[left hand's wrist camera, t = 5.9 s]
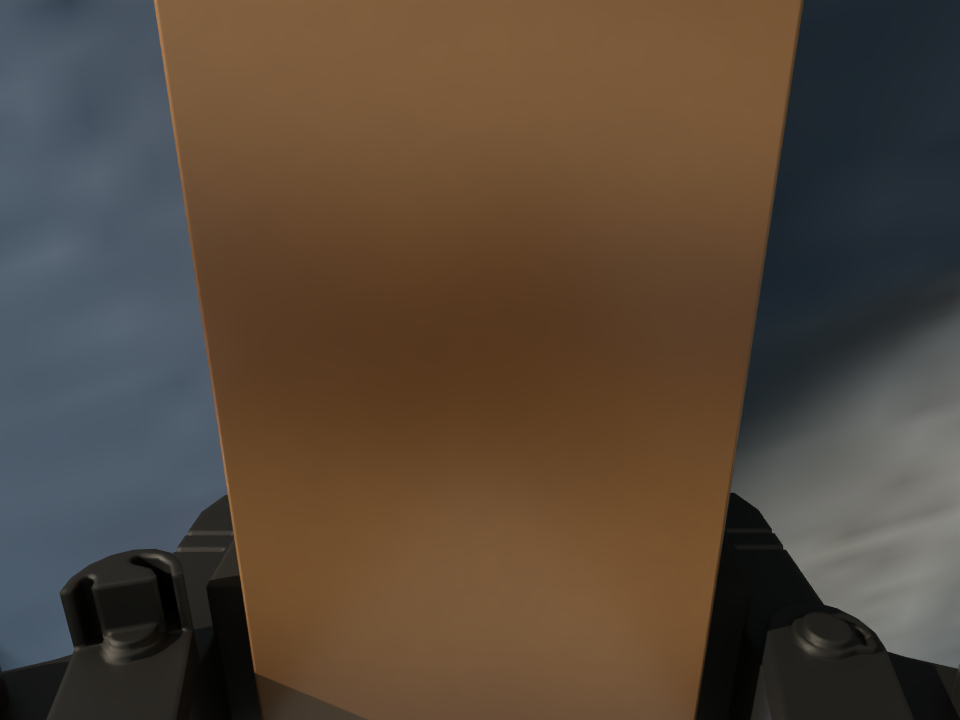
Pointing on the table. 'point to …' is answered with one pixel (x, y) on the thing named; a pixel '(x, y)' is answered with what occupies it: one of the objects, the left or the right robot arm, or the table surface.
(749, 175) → the beam
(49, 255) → the table surface
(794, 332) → the table surface
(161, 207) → the table surface
